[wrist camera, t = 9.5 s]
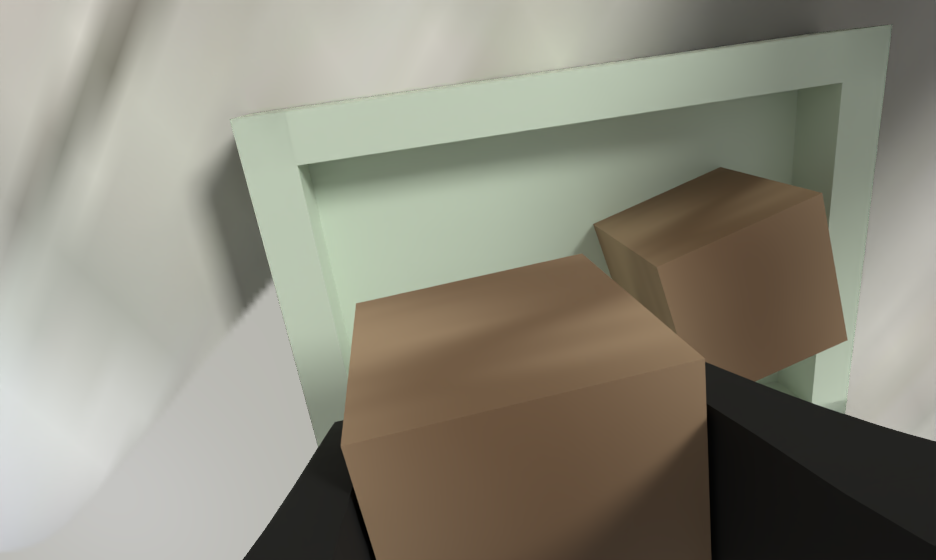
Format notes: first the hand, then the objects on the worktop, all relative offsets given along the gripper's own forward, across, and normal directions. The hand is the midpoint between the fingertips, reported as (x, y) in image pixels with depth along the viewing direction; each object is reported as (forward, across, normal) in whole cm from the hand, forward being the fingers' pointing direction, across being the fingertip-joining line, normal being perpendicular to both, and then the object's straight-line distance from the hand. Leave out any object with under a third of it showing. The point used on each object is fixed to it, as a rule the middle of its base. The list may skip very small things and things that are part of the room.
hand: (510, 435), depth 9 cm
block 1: (+2, 0, 0) cm, 2 cm away
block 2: (+8, -7, +1) cm, 10 cm away
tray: (+8, -4, +1) cm, 9 cm away
